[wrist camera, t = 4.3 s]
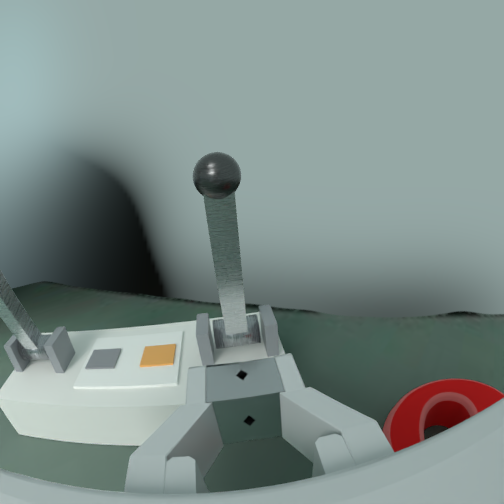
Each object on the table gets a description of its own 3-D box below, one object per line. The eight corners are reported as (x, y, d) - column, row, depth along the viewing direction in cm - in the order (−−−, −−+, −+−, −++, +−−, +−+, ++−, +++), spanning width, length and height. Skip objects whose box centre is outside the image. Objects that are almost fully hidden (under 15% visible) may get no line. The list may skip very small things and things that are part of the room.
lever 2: (218, 355, 21) (179, 167, 13) (215, 331, 22) (182, 150, 14) (261, 349, 21) (251, 158, 13) (256, 325, 23) (244, 142, 14)
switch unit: (19, 434, 16) (-21, 371, 14) (56, 366, 26) (32, 310, 24) (298, 429, 18) (297, 355, 16) (272, 348, 28) (266, 283, 26)
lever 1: (27, 365, 19) (-64, 228, 11) (33, 344, 21) (-47, 209, 13) (55, 365, 20) (-39, 219, 11) (60, 343, 21) (-21, 199, 13)
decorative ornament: (344, 491, 13) (351, 465, 12) (408, 394, 20) (416, 362, 19) (485, 536, 7) (513, 513, 6) (516, 421, 13) (533, 390, 12)
